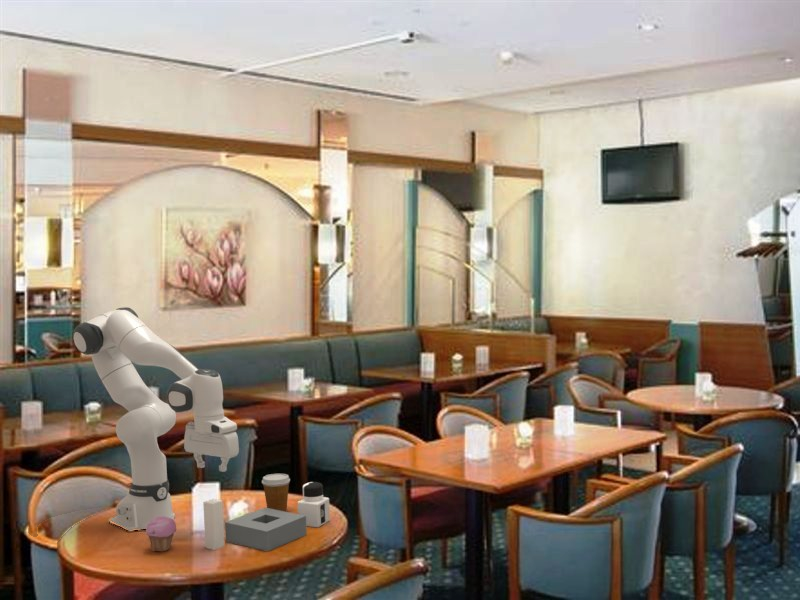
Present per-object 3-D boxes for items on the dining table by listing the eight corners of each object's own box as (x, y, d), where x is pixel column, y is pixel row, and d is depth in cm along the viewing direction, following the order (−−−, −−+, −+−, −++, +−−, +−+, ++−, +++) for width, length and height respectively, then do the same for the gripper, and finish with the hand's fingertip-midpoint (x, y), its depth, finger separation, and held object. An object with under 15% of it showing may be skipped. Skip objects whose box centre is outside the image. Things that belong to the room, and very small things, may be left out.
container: (330, 520, 296) (328, 481, 295) (318, 527, 289) (317, 487, 288) (309, 518, 299) (308, 479, 298) (297, 525, 292) (296, 485, 291)
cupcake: (155, 544, 277) (153, 512, 276) (181, 545, 276) (180, 512, 275) (142, 554, 268) (140, 521, 268) (169, 555, 267) (168, 522, 266)
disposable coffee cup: (270, 506, 313) (269, 472, 312) (295, 508, 310) (294, 474, 309) (258, 514, 304) (256, 479, 303) (283, 516, 301) (282, 481, 300)
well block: (225, 541, 278) (225, 522, 278) (265, 525, 292) (264, 507, 292) (267, 551, 268) (266, 531, 267) (306, 534, 282) (305, 515, 282)
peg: (205, 547, 273) (203, 502, 272) (215, 543, 276) (213, 498, 275) (214, 550, 270) (212, 504, 270) (224, 546, 274) (222, 500, 273)
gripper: (177, 422, 274) (180, 467, 275) (225, 428, 262) (227, 475, 263) (193, 419, 279) (196, 463, 280) (241, 424, 267) (243, 470, 268)
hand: (211, 469), depth 272 cm, fingers open, 8 cm apart
